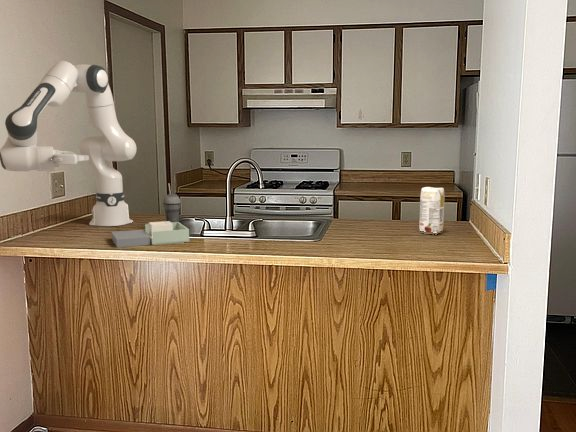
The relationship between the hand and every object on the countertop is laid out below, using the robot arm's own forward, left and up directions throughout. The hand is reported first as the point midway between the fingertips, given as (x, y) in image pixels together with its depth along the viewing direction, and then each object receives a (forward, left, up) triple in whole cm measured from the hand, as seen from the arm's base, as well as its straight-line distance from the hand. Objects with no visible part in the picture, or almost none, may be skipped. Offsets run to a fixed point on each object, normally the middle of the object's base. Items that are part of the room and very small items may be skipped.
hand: (88, 157), depth 220 cm
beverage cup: (-12, +33, -32) cm, 48 cm away
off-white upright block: (+6, +21, -28) cm, 36 cm away
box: (+6, +27, -32) cm, 42 cm away
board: (+6, +13, -32) cm, 35 cm away
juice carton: (+36, +129, -32) cm, 138 cm away
